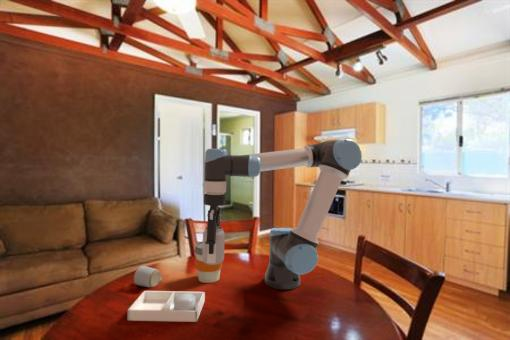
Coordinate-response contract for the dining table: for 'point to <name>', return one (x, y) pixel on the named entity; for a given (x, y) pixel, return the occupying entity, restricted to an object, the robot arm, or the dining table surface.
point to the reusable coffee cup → (206, 267)
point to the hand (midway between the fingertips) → (213, 258)
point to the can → (219, 246)
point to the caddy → (163, 307)
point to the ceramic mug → (147, 276)
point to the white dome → (184, 302)
